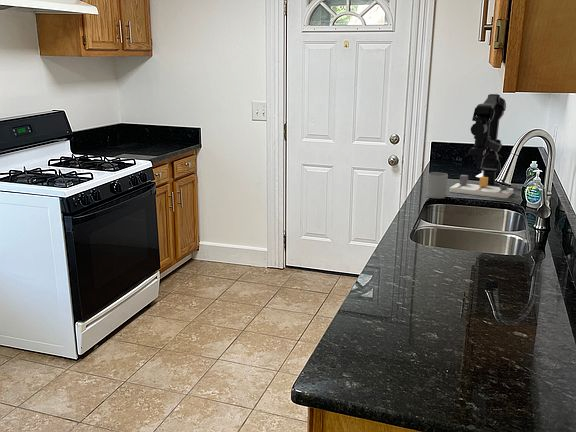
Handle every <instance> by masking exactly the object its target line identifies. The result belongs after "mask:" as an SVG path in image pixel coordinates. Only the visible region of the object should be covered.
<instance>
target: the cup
mask: <svg viewBox="0 0 576 432" xmlns="http://www.w3.org/2000/svg"><path fill="white" fill-rule="evenodd" d="M448 177H449V175H448V173H445V172H441V171H440V172H437V171H434V172H433V171H432V172H428V173H427V186H426V187H427V188H426V197H427V198H431V199H446V198H447V193H448V180H449V179H448ZM445 197H446V198H445Z"/></svg>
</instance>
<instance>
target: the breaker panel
mask: <svg viewBox="0 0 576 432" xmlns="http://www.w3.org/2000/svg"><path fill="white" fill-rule="evenodd" d="M448 191H449V193H457V194H463V195H465V194H466V195H474V196H482V197H488V198H489V197H490V198H497V199H508V198H509V197H510V196H511V195H513V194H514V188H511V187H508V189H500V186H491V185H488V186H487V187H481V186H479V184H474V183H473V184H472V183H468V184H467V185H462V184H459V182H457V183H455V184H454V185H452V186H450V187H449V190H448Z"/></svg>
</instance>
